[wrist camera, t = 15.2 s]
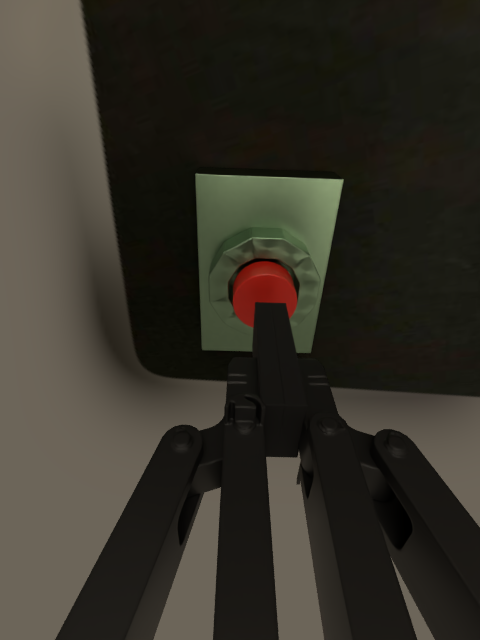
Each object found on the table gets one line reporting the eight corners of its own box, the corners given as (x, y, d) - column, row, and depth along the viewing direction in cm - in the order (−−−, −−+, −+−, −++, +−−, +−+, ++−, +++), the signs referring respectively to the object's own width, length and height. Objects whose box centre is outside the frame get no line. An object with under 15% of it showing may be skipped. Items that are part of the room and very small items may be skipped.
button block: (199, 167, 20) (190, 180, 16) (334, 171, 20) (353, 186, 16) (204, 332, 26) (199, 366, 23) (306, 335, 26) (315, 369, 23)
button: (234, 259, 19) (233, 272, 18) (297, 261, 19) (301, 275, 18) (232, 313, 21) (231, 329, 19) (289, 314, 21) (293, 330, 20)
